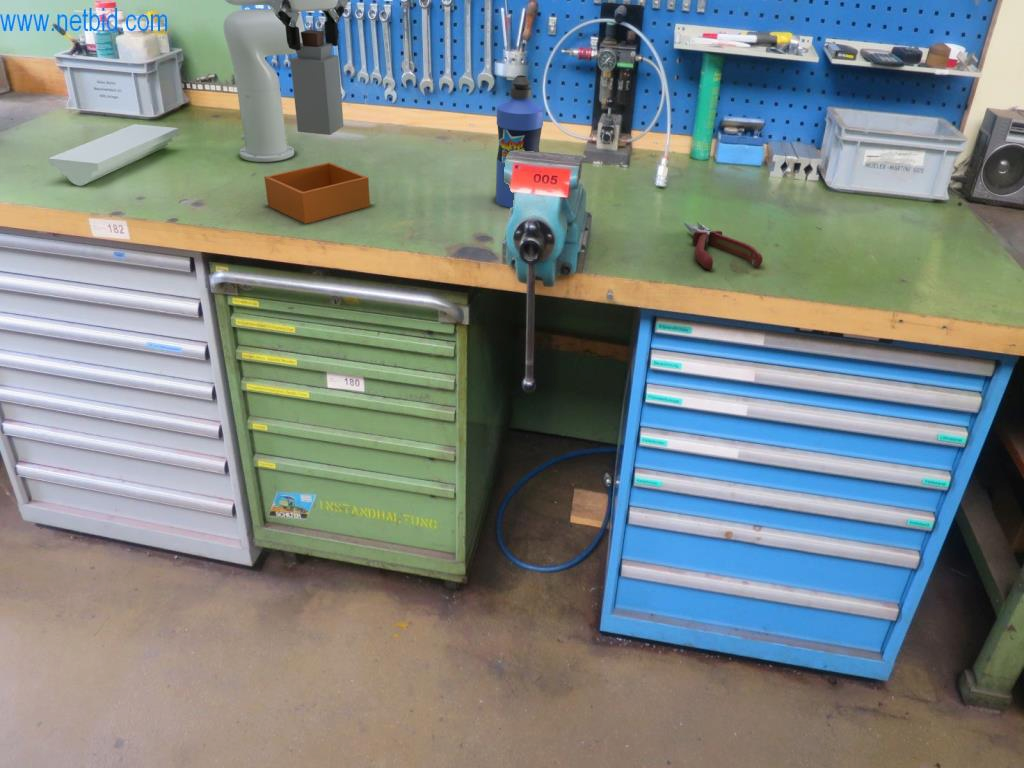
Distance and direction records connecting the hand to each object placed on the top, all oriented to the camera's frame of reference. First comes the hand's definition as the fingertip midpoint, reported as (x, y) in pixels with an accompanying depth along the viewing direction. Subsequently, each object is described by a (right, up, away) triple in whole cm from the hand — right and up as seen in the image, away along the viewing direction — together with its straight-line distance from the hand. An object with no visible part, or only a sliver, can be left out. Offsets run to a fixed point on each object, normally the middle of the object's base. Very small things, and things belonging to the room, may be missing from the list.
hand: (313, 46), depth 149 cm
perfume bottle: (-1, -13, +8) cm, 16 cm away
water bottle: (+39, -25, +18) cm, 49 cm away
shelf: (-51, -15, +30) cm, 60 cm away
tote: (-2, -28, +11) cm, 30 cm away
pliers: (+76, -39, -2) cm, 86 cm away
